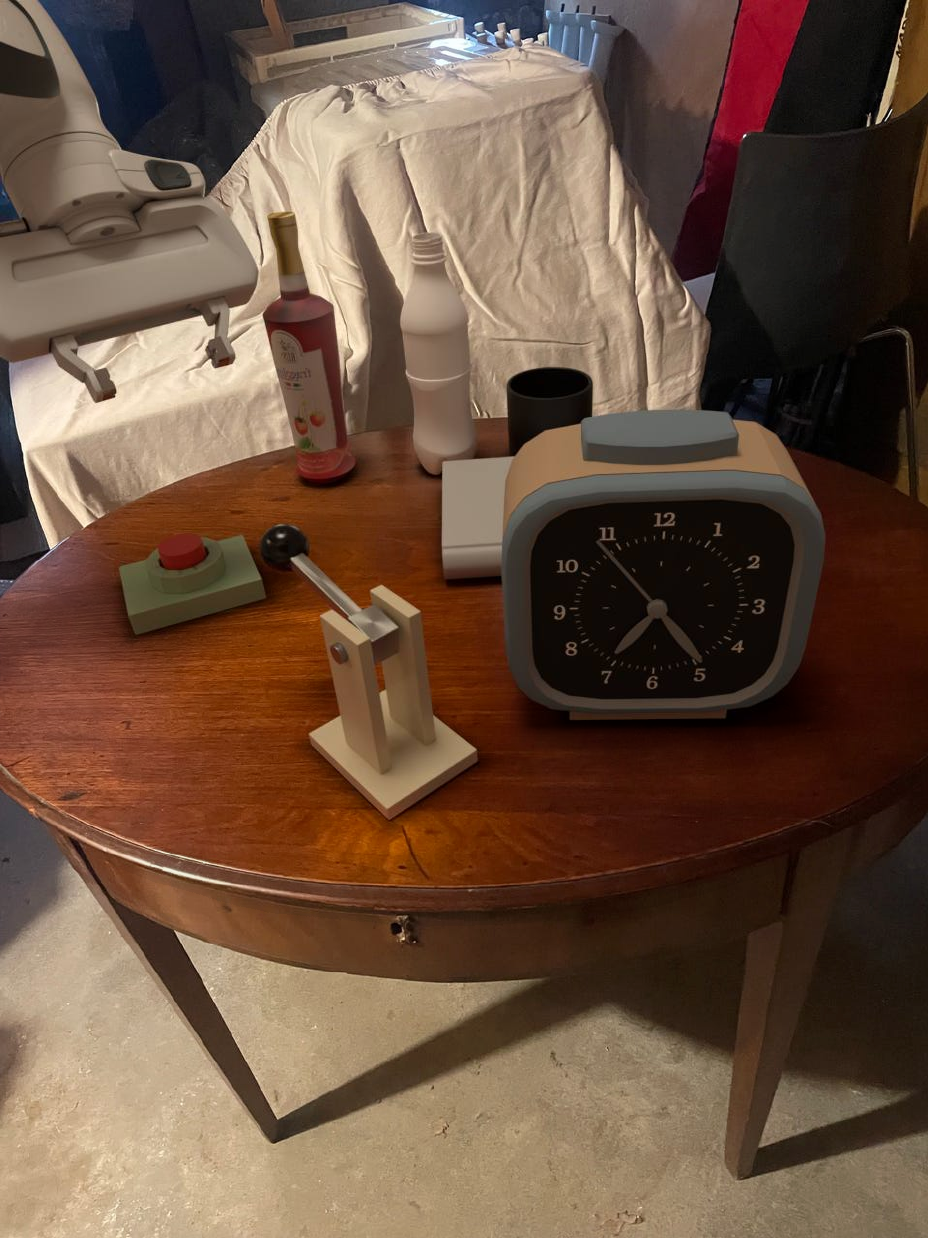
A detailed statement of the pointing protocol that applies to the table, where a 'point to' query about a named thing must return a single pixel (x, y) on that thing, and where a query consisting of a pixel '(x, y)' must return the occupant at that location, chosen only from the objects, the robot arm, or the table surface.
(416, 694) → the bracket
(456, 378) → the water bottle
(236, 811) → the table surface
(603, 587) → the alarm clock
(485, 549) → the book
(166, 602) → the button box
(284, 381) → the liquor
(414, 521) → the table surface
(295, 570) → the lever
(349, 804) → the table surface
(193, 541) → the button
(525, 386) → the mug
